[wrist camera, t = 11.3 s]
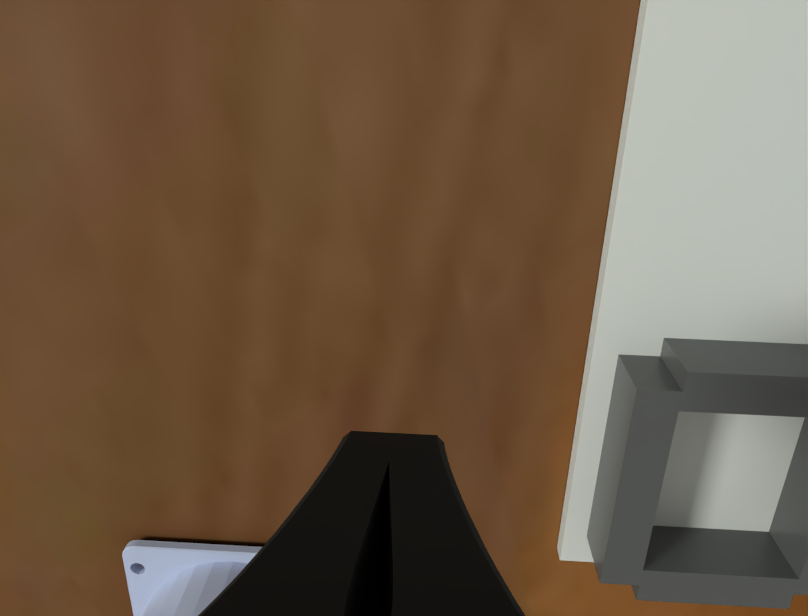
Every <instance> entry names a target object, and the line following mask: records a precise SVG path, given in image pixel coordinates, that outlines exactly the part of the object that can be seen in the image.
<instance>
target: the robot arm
mask: <svg viewBox="0 0 808 616" xmlns="http://www.w3.org/2000/svg"><path fill="white" fill-rule="evenodd" d="M122 557H123V562H124V567H125V573H126V578H127V583H128V589H129V594H130V599H131V605H132V610H133V615H134V616H385V615H386V616H525V615H524V613H523V612H522V610H521V608H520V607H519V605H518V603H517V602H516V600H515V599H514V597H513V595H512V594H511V592H510V590H509V588H508V587H507V585H506V583H505V582H504V580H503V578H502V576H501V575H500V573H499V571H498V570H497V568H496V566H495V564H494V562H493V561H492V559H491V557H490V555H489V553H488V551H487V549H486V548H485V546H484V544H483V542H482V539H481V537H480V535H479V533H478V531H477V529H476V527H475V525H474V523H473V521H472V519H471V517H470V515H469V513H468V511H467V509H466V506H465V504H464V502H463V500H462V497H461V495H460V492H459V490H458V487H457V485H456V482H455V480H454V477H453V474H452V471H451V469H450V466H449V462H448V459H447V455H446V451H445V446H444V442H443V441H442V440H441V439H440V438H439V437H438V436H437V435H420V434H401V433H381V432H361V431H351V432H349V433H348V434H347V435H346V436H344V437H343V439H342V441H341V442H340V444H339V446H338V448H337V449H336V451H335V452H334V454H333V456H332V457H331V459H330V460H329V462H328V463H327V465H326V466H325V468H324V469H323V471H322V472H321V474H320V475H319V476H318V478H317V479H316V481H315V482H314V483H313V485H312V486H311V488H310V489H309V490H308V492H307V493H306V494H305V495H304V497H303V498H302V499H301V501H300V502H299V503H298V504H297V506H296V507H295V508H294V510H293V511H292V512H291V513H290V515H289V516H288V517H287V519H286V520H285V521H284V523H283V524H282V525H281V526H280V527H279V529H278V530H277V531H276V532H275V533H274V535H273V536H272V537H271V538H270V539H269V540H268V541H267V543H266V544H265V545H264V546H263V547H255V546H237V545H220V544H202V543H184V542H167V541H149V540H133V541H131V542H129V543H128V544H127V546H126V547H125V549H124V551H123V555H122ZM137 563H139V564H141V565H143V566H141V565H139V564H137Z"/></svg>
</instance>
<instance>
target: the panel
mask: <svg viewBox="0 0 808 616" xmlns="http://www.w3.org/2000/svg"><path fill="white" fill-rule="evenodd" d="M557 549H558V554H559V558H560V560H566V561H583V562H594V564H595V568H596V571H597V575H598V578H599V582H600V583H608V584H626V585H632V588H633V591H634V594H635V597H636V600H647V601H664V602H681V603H698V604H715V605H732V606H749V607H766V608H783V609H789V607H790V604H791V601H792V598H793V595H794V594H799V595H808V0H641V3H640V9H639V16H638V22H637V29H636V35H635V42H634V48H633V55H632V61H631V68H630V75H629V81H628V88H627V94H626V101H625V107H624V114H623V120H622V127H621V133H620V140H619V146H618V153H617V159H616V166H615V172H614V179H613V186H612V192H611V199H610V205H609V212H608V218H607V225H606V231H605V238H604V244H603V251H602V257H601V264H600V270H599V277H598V283H597V290H596V297H595V303H594V310H593V316H592V323H591V329H590V336H589V342H588V349H587V355H586V362H585V368H584V375H583V381H582V388H581V394H580V401H579V408H578V414H577V421H576V427H575V434H574V440H573V447H572V453H571V460H570V466H569V473H568V479H567V486H566V492H565V499H564V505H563V512H562V519H561V525H560V532H559V538H558V545H557Z"/></svg>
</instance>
